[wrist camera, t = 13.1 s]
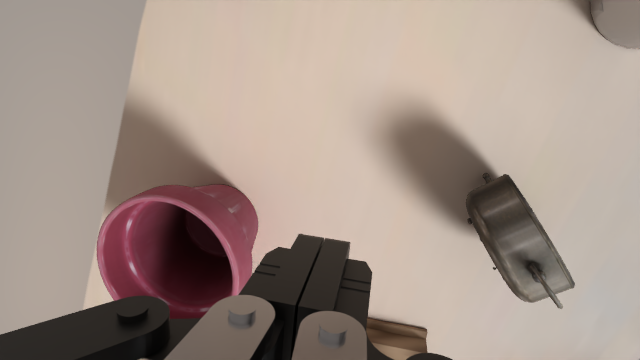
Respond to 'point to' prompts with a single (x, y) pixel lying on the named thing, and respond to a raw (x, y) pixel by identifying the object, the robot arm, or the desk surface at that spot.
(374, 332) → the walnut chute
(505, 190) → the alarm clock
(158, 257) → the plant pot
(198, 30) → the desk surface
